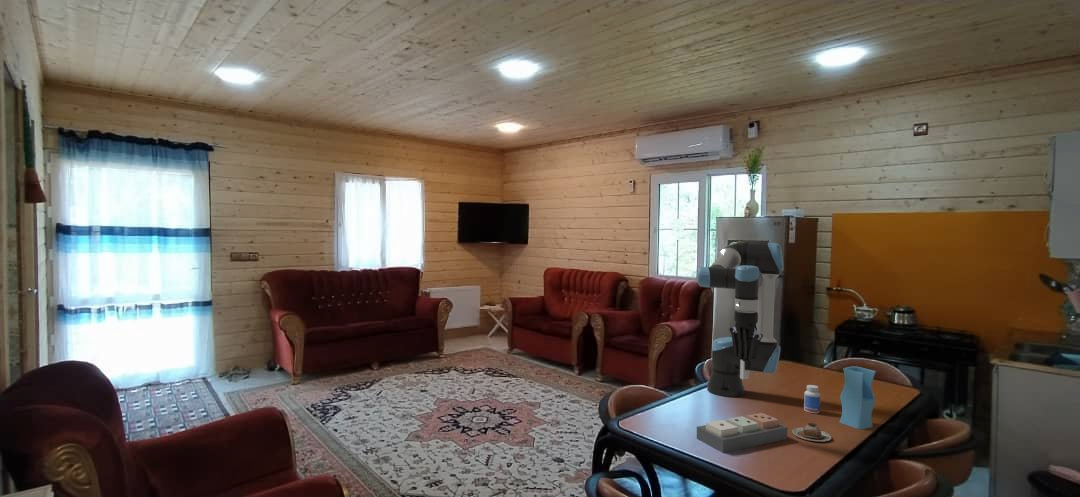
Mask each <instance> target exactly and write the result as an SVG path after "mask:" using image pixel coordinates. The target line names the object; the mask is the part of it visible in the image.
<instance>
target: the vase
mask: <svg viewBox="0 0 1080 497" xmlns="http://www.w3.org/2000/svg"><path fill="white" fill-rule="evenodd" d="M842 369H843V374H844V375H843V376H844V385H843V388H842V391H841V394H840V396H839V399H840V402H841V410H842V411H841V416H840V420H839V423H840V424H843V425H846V426H849V427H851V428H854V429H856V430H857V429H858V430H865V429H869V428H873V421H872V420H873V419H872V416H873V415H872V414H873V410H874V406H875V403H876V396H875V394H874V391H873V381H874V378H875V375H876V373H877V371H876V370H872V369H868V368H865V367H860V366H847V367H843V368H842Z"/></svg>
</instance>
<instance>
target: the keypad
mask: <svg viewBox="0 0 1080 497" xmlns="http://www.w3.org/2000/svg"><path fill="white" fill-rule="evenodd" d="M725 421H726V422H727V420H725ZM696 439H697V440H699V441H701V442H702V443H704V444H706V445H708V446H709V447H712V448H713V449H715V450H717V451H719V452H721V453H728V452H732V451H737V450H742V449H747V448H751V447H757V446H761V445H765V444H770V443H774V442H780V441H786V440H788V426H786V425H783V424H782V423H778V426H775V427H770V428H765V429H762V428H760V427H758V430H755V431H750V432H744V433H742V432H739V431H738V434H734V435H729V436H724V437H720V436H718V435H716V434H714V433H712V432H710V431H708V430H706V424H704V425H699V426H696Z"/></svg>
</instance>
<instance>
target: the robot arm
mask: <svg viewBox="0 0 1080 497" xmlns="http://www.w3.org/2000/svg"><path fill="white" fill-rule="evenodd" d="M784 269H785V268H784V255H783V250H782V246H781V244H779V243H777V242H753V241H751V242H750V241H749V242H746V241H742V242H736V243H732V244H730V245H728V246H725V247H724V248H722V249H721V250H720V251H719V252H718V253H717V258H716V260H715V261H713V263H712V264H711V265H710V266H701V267H699V268H698V270H697V277H696V278H697V284H698V285H699V287H700V288H701V287H703V288H712V289H729V290H734V309H735V311H734V319H733V320H734V321H735V323H734V326H733V327H729V333H730V334H731V336H725V337H719V338H718V337H717V338H715V339H714V340H712V341H713V342H712V347H711V351H712V352H711V361H712V362H711V374H710V377H709V380H708V382H707V386H706V387H707V388H706V389H707V391H708V392H709V393H711V394H712V395H713V394H714V395H718V396H722V397H728V398H729V397H734V398H735V397H741V396H744V394H745V387H744V384H743V380H749V379H750V372H756V373H762V374H775V372H776V371H777V369H778V365H779V360H780V355H781V350H782V349H781V346H780V345H778V344H777V343H778V341H777V339H775V337H774V324H775V323H774V320H775V318H774V317H775V293H776V291H775V290H776V279H777V278H778V277H779V276H780V272H783V271H784Z"/></svg>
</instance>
